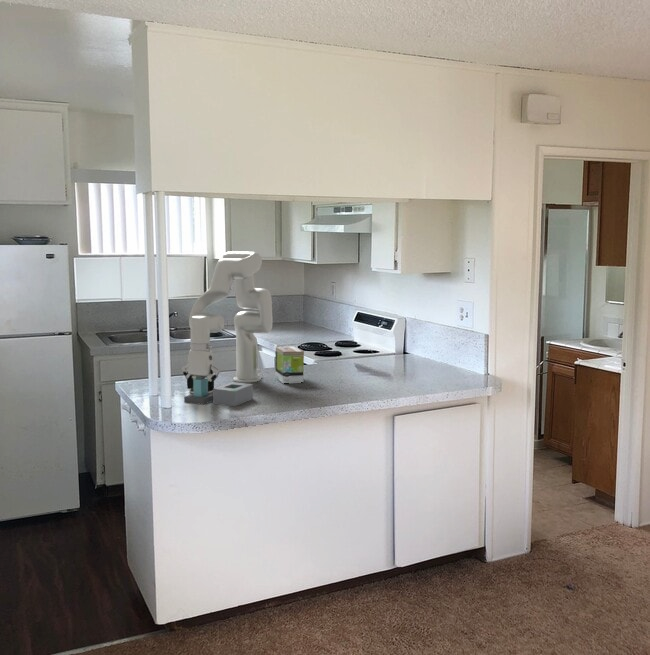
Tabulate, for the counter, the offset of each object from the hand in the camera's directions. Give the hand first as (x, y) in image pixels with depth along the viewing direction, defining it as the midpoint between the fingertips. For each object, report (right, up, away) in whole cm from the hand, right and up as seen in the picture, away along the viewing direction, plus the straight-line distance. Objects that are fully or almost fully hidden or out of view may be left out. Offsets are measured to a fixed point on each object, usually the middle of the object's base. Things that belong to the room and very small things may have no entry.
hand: (200, 389), depth 284 cm
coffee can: (-3, -3, +17) cm, 18 cm away
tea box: (+33, 0, +42) cm, 53 cm away
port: (+13, -5, +1) cm, 14 cm away
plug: (0, -5, +1) cm, 5 cm away
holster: (0, -5, +1) cm, 5 cm away
